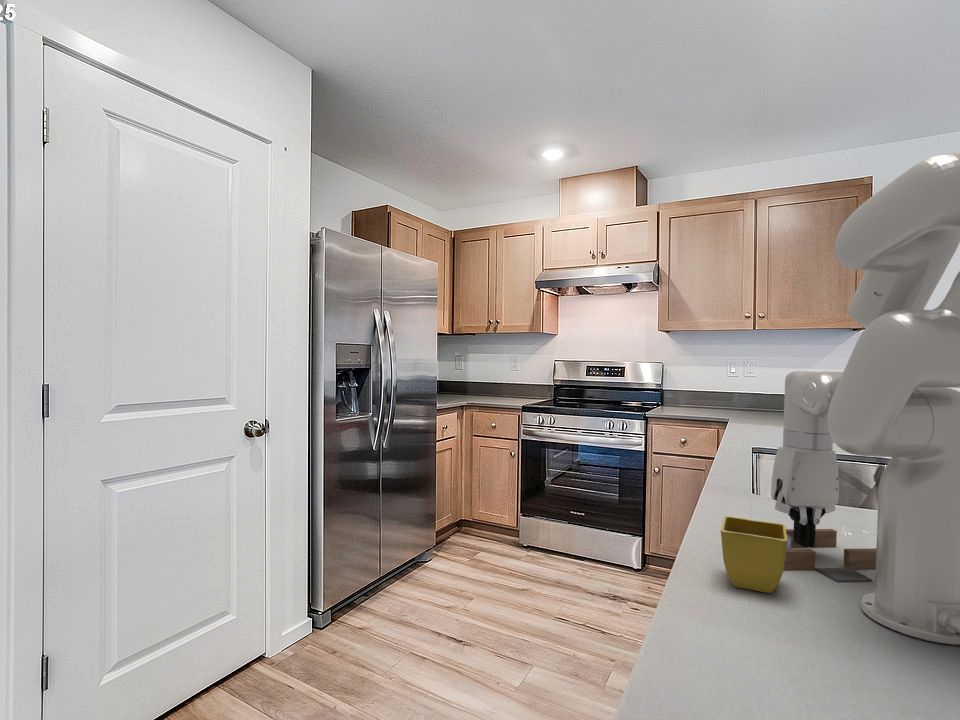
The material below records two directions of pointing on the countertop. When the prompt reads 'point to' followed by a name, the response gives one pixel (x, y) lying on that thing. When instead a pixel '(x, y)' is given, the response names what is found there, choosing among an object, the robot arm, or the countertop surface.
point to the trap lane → (852, 560)
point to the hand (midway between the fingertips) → (803, 544)
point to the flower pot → (753, 552)
